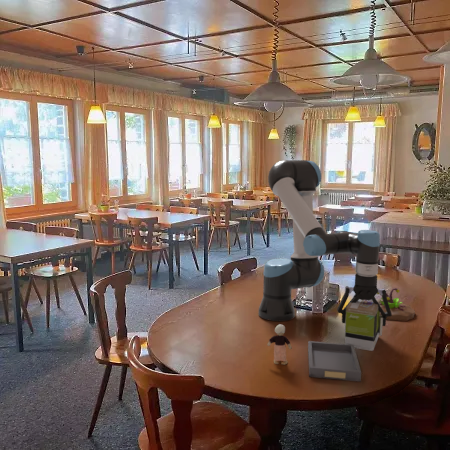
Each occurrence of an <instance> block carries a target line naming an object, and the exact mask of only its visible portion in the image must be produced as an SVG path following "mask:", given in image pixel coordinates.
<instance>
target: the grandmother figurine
mask: <svg viewBox="0 0 450 450" xmlns="http://www.w3.org/2000/svg"><path fill="white" fill-rule="evenodd" d="M285 332H286V327H285V325H283V324H280V323H279V324H278V325H276V327H275V328H274V333H276V335H273V336H271V337H270V338H269V339H268V343H267V344H266V345H267V346H268V347H271V345H272V344H274V346H273V363H274V365H279V364H281V365H283V366H284V365H287V364H288V360H287V348H286V347H288V349H289V350H291V349H292V347H293V346H292V345H291V341H290V340H289V339H288V337H287V336H285V335H284V334H285Z"/></svg>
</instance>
